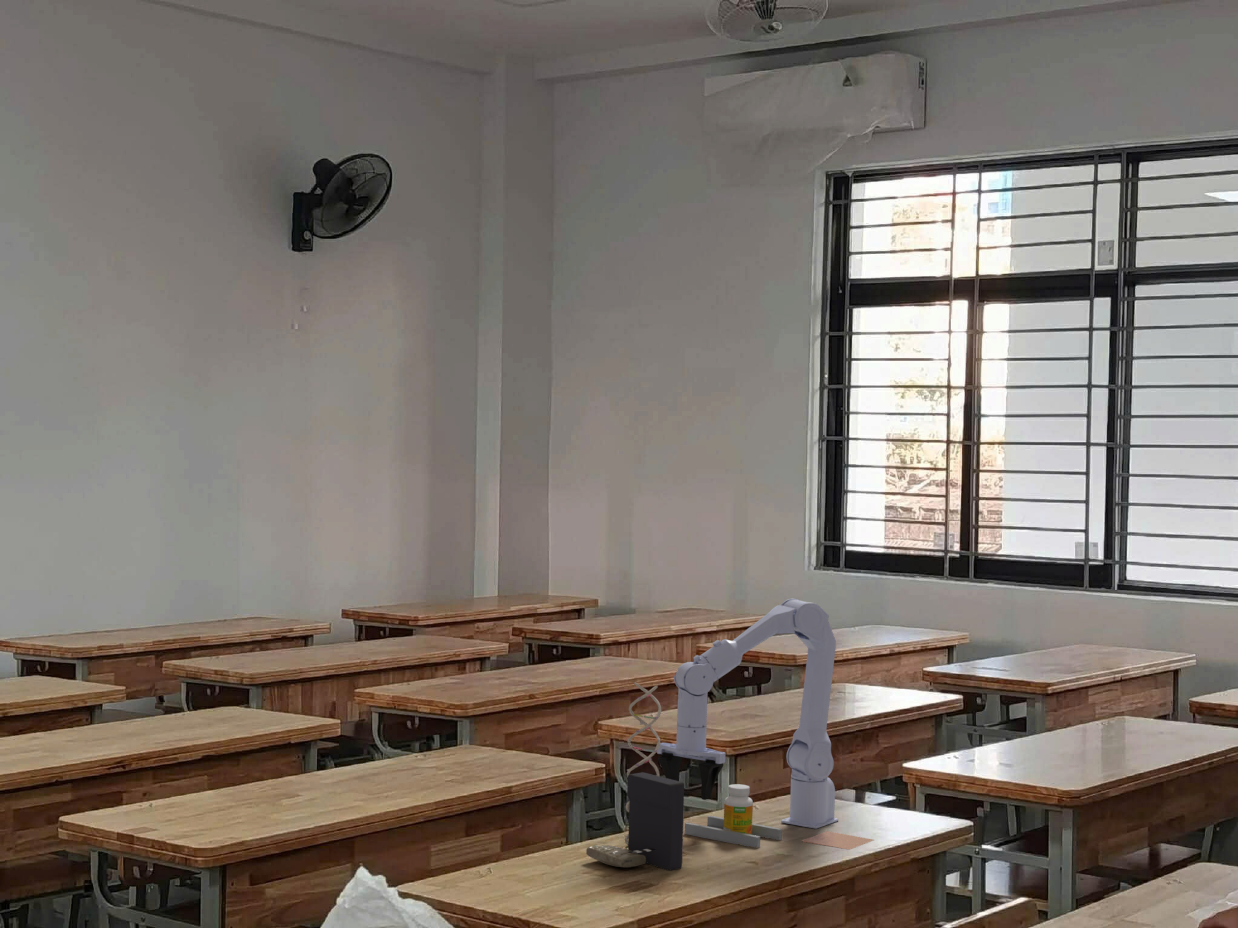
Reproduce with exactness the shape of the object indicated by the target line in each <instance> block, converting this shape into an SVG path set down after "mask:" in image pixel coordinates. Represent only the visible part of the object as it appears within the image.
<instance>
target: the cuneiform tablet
mask: <svg viewBox="0 0 1238 928" xmlns="http://www.w3.org/2000/svg"><path fill="white" fill-rule="evenodd" d="M655 850H656V849H653V848H650V849H643V850H636V851H630V850H628V849H626V848H622V847H618V846H614V845H597V844H596V845H591V846H589V847H587V848H586V855H587V856H588V857H590V858H591V859H594V860H596V861H598V862H600V863H603V864H605V865H608V866H613V867H618V868H633V867H638V866H642V865H644V864H646V863H645V862H646V857H645V856H644V855H640V854H638V853H640V852H647V851H655Z"/></svg>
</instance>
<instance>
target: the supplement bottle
mask: <svg viewBox="0 0 1238 928" xmlns="http://www.w3.org/2000/svg"><path fill="white" fill-rule="evenodd" d="M750 790H751V789H750V785H746V784H739V783H738V784H737V783H736V784H735V783H734V784H733V783H731V784H729V785H728V790H727V792H728V794H729V796H727V797H725V799H724V802H723V803H724V804H723V805H724V806H723V818H724V830H729V831H734V832H740V833H745V834H750V835H752V823H753V814H754V813H753V812H754V811H753V808H754V807H753V806H754V803H753V799H752V798H751V797H749V795H750Z"/></svg>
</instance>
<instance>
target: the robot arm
mask: <svg viewBox="0 0 1238 928" xmlns="http://www.w3.org/2000/svg"><path fill="white" fill-rule="evenodd" d="M829 617H830V616H829V614H828V613H827V612H826V611H825V610H824V609H823V608H822V606H820V605H818V603H815V602H811V601H810V602H808V601H804V600H800V599H797V598H788V599H785V600H784V601H783V602H782V603H781V604H778V605H776V606H774V607H773V608H772V609H770V610H769V611H768V613H767V614H765V615H764V616H763V617H761V618H760V619H759V620H757V621H756V622H754V624H752V625H750V626H749V627H748V628H747V629H746V630H744V631H743V632H742V633H741V634H739V635H738V636H737V637H735V638H734V639H733V640H729V639H722V640H718V639H716V640H715V641H713V642H712V645H713V646H712V647H710V648H709V649H708V650H706V651H705V652H703V653H702V654H700V655H698V654H695V656H693V657H692V658H693V661H687V662H684V663H682V664H681V665H680V666H678V668H677V670H676V673H675V675H673V681H674V684H675V685H676V687H677V688H678V693H677V694H678V695H677V697H678V699H677V713H676V714H677V715H676V717H677V719H676V743H669V742H660V747H659V749H658V751H657V752H656V753H657V754H658V755H660V756H658V758H657V761H658V764H659V766H660V767H661V769H662V772H663V774H664V778H668V779H672V780H676V781H679V775H680V768H681V764H682V761H683V758H686V759H693V760H697V761H698V760H699V761H704V762H700V763H698V767H699V773H700V779H701V780H700V781H701V790H700V794H701V796H700V797H701V800H703V801H706V800H709V799H711V797H712V792H713V790H714V786H715V783H716V781H717V778H718V776H719V774H720V773H721V771H722V769H723V768H724V764H725V763H726V755H727V754H726V752H724V751H718V750H715V749H712V748H709V747H707V729H708V728H707V725H708V724H707V721H708V720H707V719H708V692H710V691H711V689H712V688H713V685H714V683H715V682H716V681H718V680H719V679H721V678H722V677H723V676H725V675H726V674H728V673H729V672H731V671H732V670H734V669H735V668H736V667H738V666H739V665H741V663H742V660H743V656H744V654H746V653H747V652H749V651H751V650H753V649H754V648H755V647H757V646H759V645H760V644H761V643H763V642H765V641H766V640H768V639H770V638H772V637H773V636H775V635H776V634H794V635H796V636H797V637H798V638H799V640H800V641H801V642H802V643H803V644H804V645H805V646H806V647H807V655H806V662H805V663H806V664H805V673H804V680H803V682H804V684H803V692H802V698H801V699H802V701H801V709H800V718H799V726H798V727H797V729H796V730H795V732H794V733H793V735H792V740H791V744H790V745H789V747H788V749H787V752H786V756H785V757H786V762H787V764H788V765H787V766H789V767H790V769H791V773H790V797H789V798H790V802H789V816H788V817H786V818H782V819H781V820H780V822H781V823H783V824H787V825H792V826H800V827H804V828H805V827H806V828H808V829H809V828H810V829H815V830H817V829H819V828H823V827H825V826H828V825H831V824H833V823H836V822H839V818H837V817H835V808H836V807H835V806H836V805H835V803H836V801H835V800H836V789H835V788H836V787H835V784H834V782H833V780H831V778H830V777H829V776H830V775H831V773H832V772H833V769H834V766H835V765H834V764H835V761H834V758H833V755H832V742H831V740H830V737H829V734H828V732H827V728H828V727H827V726H828V717H829V712H830V711H829V710H830V700H831V693H832V692H831V691H832V682H833V674H834V666H835V664H834V663H835V655H836V648H837V640H836V638H835V635H834V633H833V629H832V626H831V624H830V622H829Z"/></svg>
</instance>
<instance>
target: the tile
mask: <svg viewBox="0 0 1238 928" xmlns="http://www.w3.org/2000/svg"><path fill="white" fill-rule="evenodd" d="M802 841H803V842H802ZM873 841H874V839H871V838H866V837H861V836H855V835H850V834H846V833H845V834H844V833H839V832H834V831H828V830H827V831H824V832H821V833H819V834H816V835H813V836H810V837H808V838H805V839H803V840H802V839H801V842H802V843H806V842H807V844H812V843H813V844H814V845H818V844H819V846H823V847H824V846H826V847H831V848H839V849H843V850H849V851H850V850H852V849H855V848H858V847H860V846H863V845H866V844H868V843H870V842H873Z"/></svg>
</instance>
